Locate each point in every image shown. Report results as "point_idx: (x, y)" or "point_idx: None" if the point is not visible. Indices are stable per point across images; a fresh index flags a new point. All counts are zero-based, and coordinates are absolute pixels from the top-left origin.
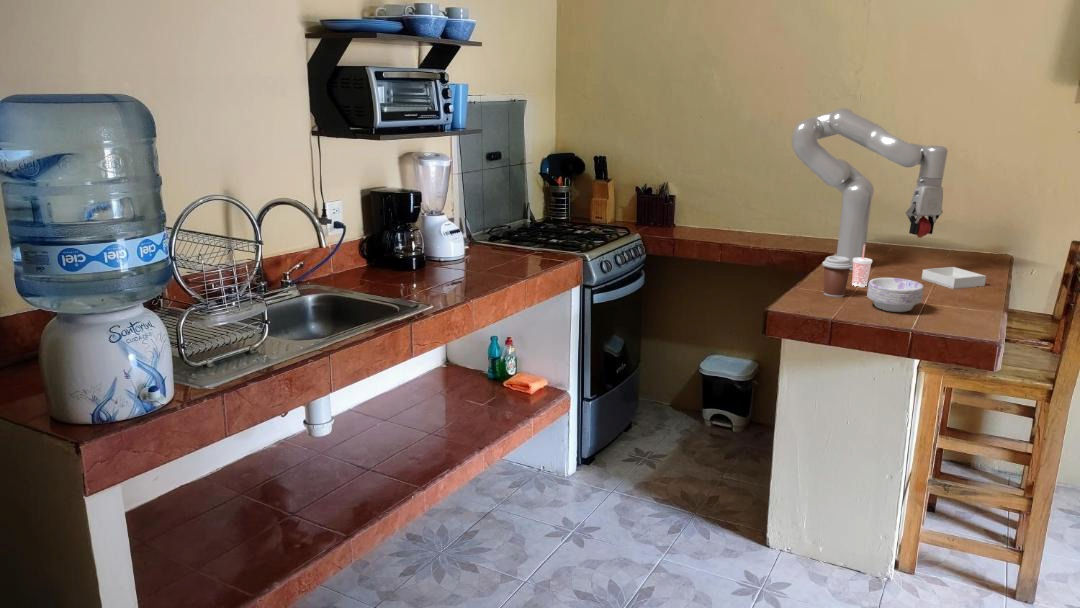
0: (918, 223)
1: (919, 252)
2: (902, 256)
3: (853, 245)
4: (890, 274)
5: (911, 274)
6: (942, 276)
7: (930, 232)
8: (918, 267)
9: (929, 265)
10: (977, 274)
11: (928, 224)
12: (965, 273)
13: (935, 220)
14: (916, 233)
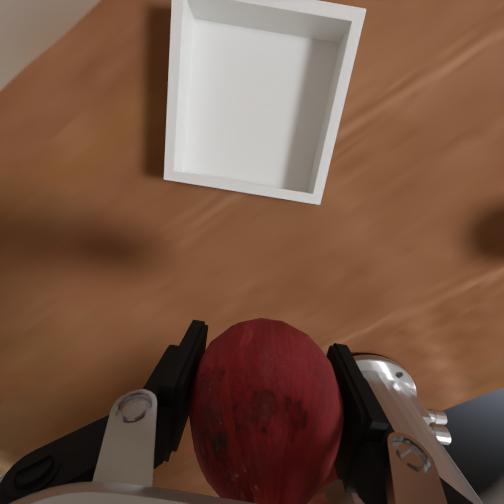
0: (339, 435)
1: (26, 412)
2: (111, 404)
3: (445, 453)
4: (338, 289)
5: (279, 260)
6: (345, 93)
7: (206, 329)
8: (177, 308)
9: (123, 309)
10: (182, 28)
11: (272, 373)
12: (181, 104)
13: (115, 415)
14: (347, 348)
